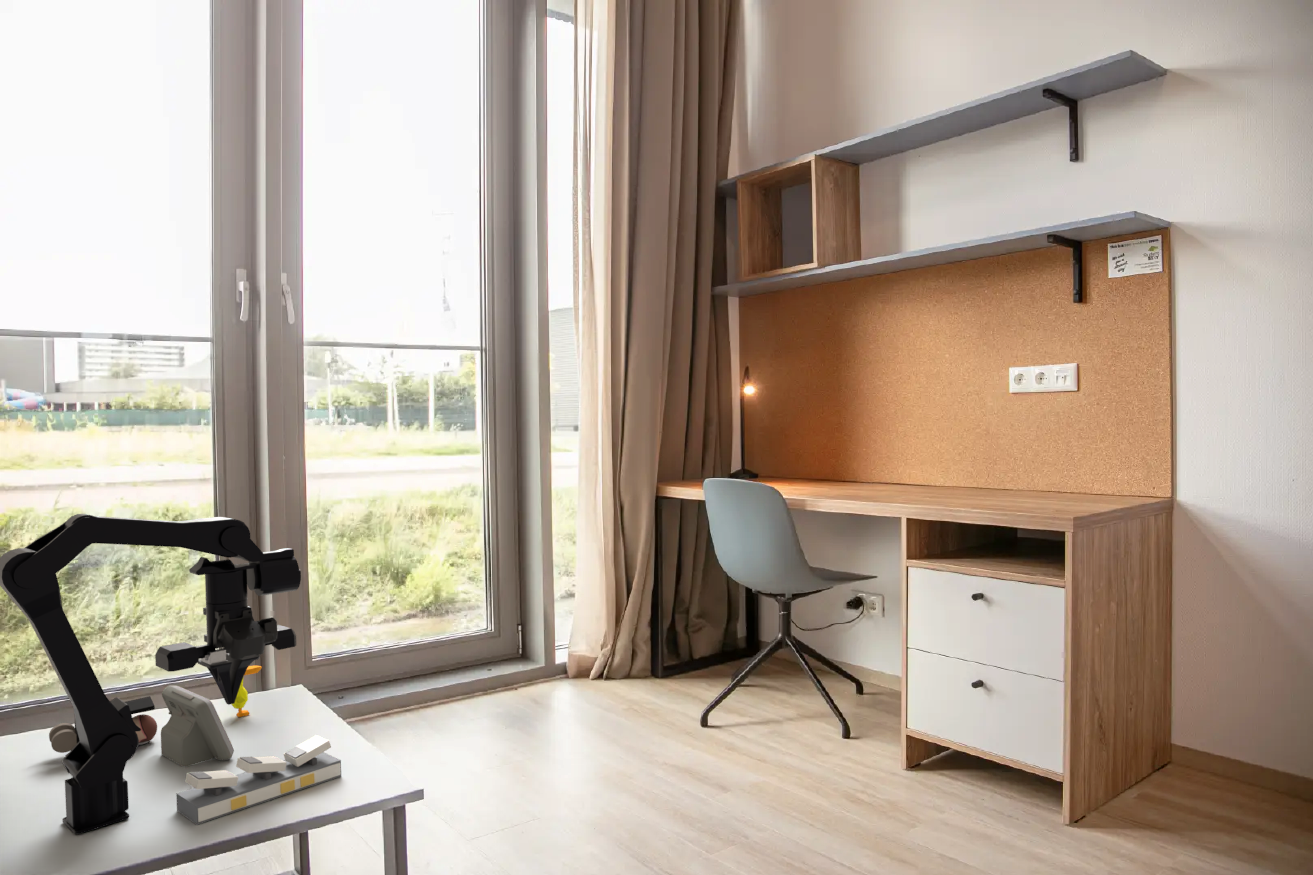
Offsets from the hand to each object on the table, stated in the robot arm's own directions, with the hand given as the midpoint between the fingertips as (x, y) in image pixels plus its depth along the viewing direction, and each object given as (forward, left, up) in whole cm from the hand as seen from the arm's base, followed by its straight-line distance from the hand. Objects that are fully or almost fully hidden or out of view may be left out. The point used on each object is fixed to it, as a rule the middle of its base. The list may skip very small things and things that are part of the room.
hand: (230, 703), depth 137 cm
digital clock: (+1, +17, -12) cm, 21 cm away
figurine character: (-8, +31, -12) cm, 35 cm away
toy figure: (+15, +31, -12) cm, 37 cm away
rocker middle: (+1, -8, -8) cm, 11 cm away
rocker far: (+8, -8, -8) cm, 14 cm away
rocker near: (-6, -8, -8) cm, 12 cm away
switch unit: (+1, -8, -12) cm, 14 cm away
